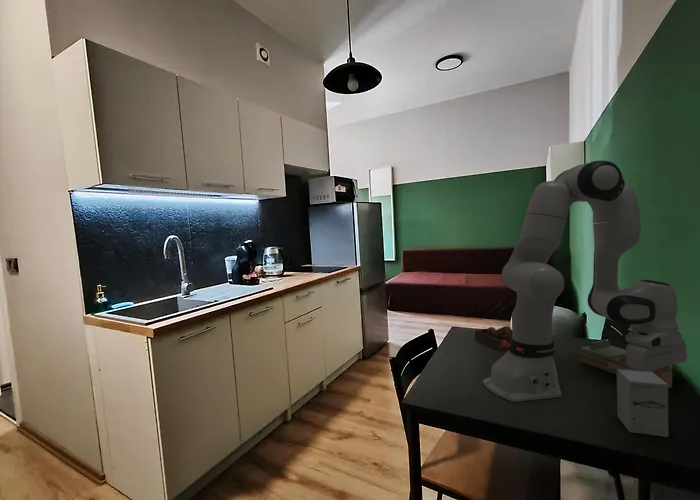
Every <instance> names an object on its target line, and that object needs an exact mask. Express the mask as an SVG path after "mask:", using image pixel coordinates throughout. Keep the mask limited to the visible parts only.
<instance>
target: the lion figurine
mask: <svg viewBox="0 0 700 500" xmlns="http://www.w3.org/2000/svg"><path fill="white" fill-rule="evenodd" d="M487 335H489V336H492V337H494V338H497V339H499V340H502V339H508V338H511V337H512V328H511V327H510V326H508V325H506V326H502V327H500V328H497V329H496V328H495V327H493V326H489V327H488V333H487Z"/></svg>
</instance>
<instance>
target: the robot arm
mask: <svg viewBox="0 0 700 500" xmlns="http://www.w3.org/2000/svg"><path fill="white" fill-rule="evenodd" d="M623 177H624V176H623V173H622V171H621V169H620V168H619V166H618V165H617V164H616V163H614V162H612V161H609V160H594V161H593V160H592V161H591V162H588V163H583V164H578V165H576V166H573V167H571V168H570V169H566V170H564V171H563V172H561V173H560V174H558V175H557V176H556V177H555V179H554V180H548V181H547V180H546V181H543V182H541V183H539V184H538V185H537V186H536V187H535V189H534V191H533V193H532V195H531V197H530V200H529V202H528V205H527V208H526V211H525V215H524V219H523V223H522V227H521V230H520V234H519V238H518V241H517V243H516V245H515V247H514V249H513V251H512V253H511V256H510V258H509V259H508V261H507V262H506V264H505V265H504V267H502V270H501V278H502V280H503V282H504V283H505V285H506V286H507V287H508V288H509V289H510V290H511V291H514V292H516V302H515V307H514V310H513V311H512V312H511V330H512V336H511V337H512V338H511V340H510V343H509V342H507V341H505V340H503V341H502V342H501V344H502V346H503V347H506V348H508V350H507V351H506V352H505V353H504V354H502V356H501V357H499V358H498V360H496V361H495V362H494V363H493V365H492V366H491V370H490V377H486V378H483V380H482V384H483V386H484V387H485V388H486V389H487V390H488V391H490V392H491V393H493V394H494V395H496V396H498V397H500V398H503V399H505V400H507V401H511V402H515V403H518V402H519V403H520V402H525V401H537V400H545V399H554V398H560V397H562V396H563V395H562V390H561V385H560V382H559V377H558V371H557V365H556V362H555V358H554V355H555V354H556V353H555V352H556V351H555V349H556V347H555V341H554V340H553V314H554V310H555V309H554V307H555V305H556V301H557V298H558V297H559V296H560V295H561V294H562V293H563V291H564V289H565V279H564V276H563V275H562V273H561V272H560V271H559V270H558V269H556V268H555V267H553V266H552V265H550V264H548V261H549V260H550V258H551V256H552V255H553V253H554V252H555V251H556V250H558V249H559V247H560V245H561V242H562V239H563V234H564V230H565V227H566V223H567V219H568V215H569V210H570V208H571V206H572V205H573V204H574V203H577V202H583V203H585V202H586V203H588V205H589V206H590V208H591V211H592V229H593V231H592V232H593V245H594V246H593V250H594V251H593V268H592V269H593V273H592V274H593V275H592V277H593V278H592V280H593V281H592V286H591V288H590V291H589V293H588V295H587V296H588V297H587V306H588V307H589V309H590V310H591V311H592V312H593V313H594V314H596V315H598V316H600V317H604V318H606V319H607V320H609V321H612V322H613V323H615V324H618V325H622V326H631V325H632V326H633V325H634V326H635V325H636V326H635V327H634V328H633V329H632V330H631V331H629V332H628V333H627V334H625V336H624V340H625V341H626V343H627V342H628V343H627V344H626V346H625V350H626V362H627V365H628V367H629V368H630V369H632V370H635V371H645V372H654V369H657V368H661V367H662V368H664V369H668V370H671V371H673V367H674V366H673V365H677V364H680V363H684V362H686V360H687V358H688V356H687V355H688V354H687V344H686V341H685V339H683V335H682V334H681V333H680V331H679V330H678V329H679V326H678V323H677V315H678V301H677V300H678V299H677V298H678V297H677V294H676V290H675V288H674V286H672V285H671V284H670V283H667V282H662V281H658V280H654V279H653V280H652V279H640V280H639V281H638V282H637V283H635V284H633V285H631V286H629V287H627V288H625V289H624V288H623V289H620V287H619V283H618V280H619V279H618V278H619V275H618V273H619V262H620V261H619V260H620V259H621V257H622V256H623V254H625V252H627V251H629V250H631V249H633V247H635V246H636V245H637V244H638V242H639V241H640V235H641V229H642V228H641V227H642V226H641V225H642V224H641V212H640V206H639V201H638V198H637V195H636V193H635V190H634V189H633V188H632V187H631V186H629V185H626V182H625V179H624V178H623Z"/></svg>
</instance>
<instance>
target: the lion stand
mask: <svg viewBox="0 0 700 500" xmlns="http://www.w3.org/2000/svg"><path fill="white" fill-rule="evenodd" d="M488 328H489V327H488ZM488 328H481V329H476V330H474V341H475V340H477V341H476V342H478V341H479V342H478V343H480V342H481V343H480V344H482V343H483V345H484V344H485V345H484V346H486V345H488V346H487V347H489V346H490V347H489V348H491V347H492V348H491V349H493V348H494V349H493V350H495V349H496V351H497V352H499V353H502V352H505V351H506V352H507V351H508V348H506V347H503V346H502V344H501V342H502V341H503V340H505V341H507V342H509V343H510V340H511V338H512V336H511V338H508V339H502V340H499V339H497V338H494V337H492V336H489V335H487V333H488Z"/></svg>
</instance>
